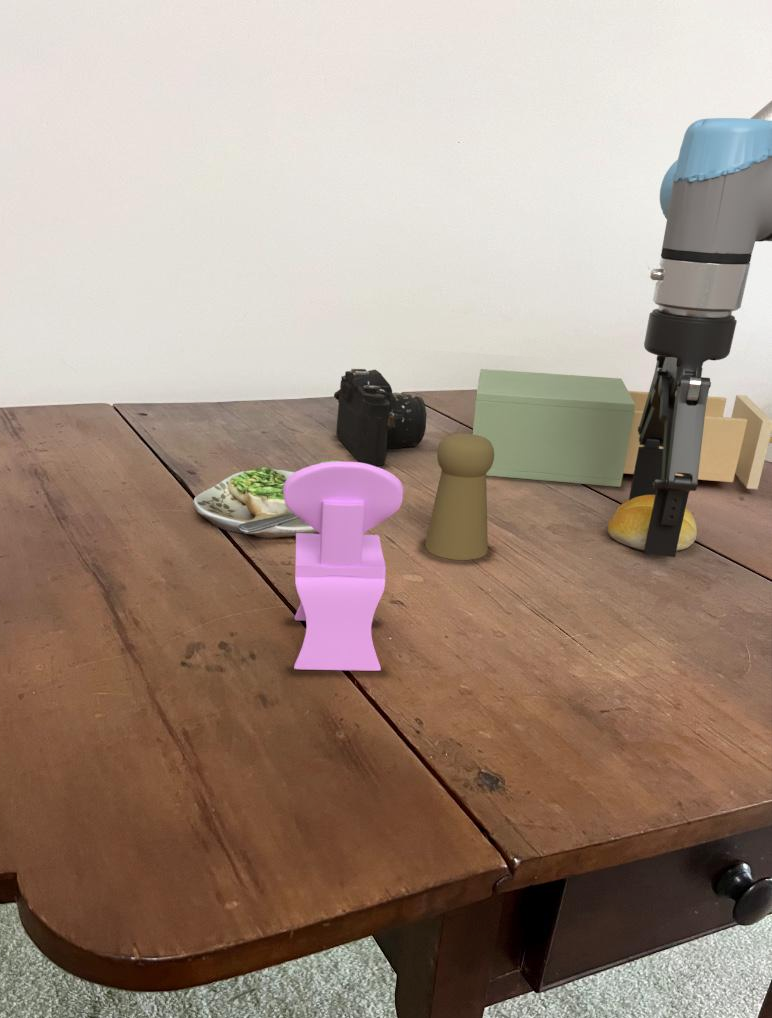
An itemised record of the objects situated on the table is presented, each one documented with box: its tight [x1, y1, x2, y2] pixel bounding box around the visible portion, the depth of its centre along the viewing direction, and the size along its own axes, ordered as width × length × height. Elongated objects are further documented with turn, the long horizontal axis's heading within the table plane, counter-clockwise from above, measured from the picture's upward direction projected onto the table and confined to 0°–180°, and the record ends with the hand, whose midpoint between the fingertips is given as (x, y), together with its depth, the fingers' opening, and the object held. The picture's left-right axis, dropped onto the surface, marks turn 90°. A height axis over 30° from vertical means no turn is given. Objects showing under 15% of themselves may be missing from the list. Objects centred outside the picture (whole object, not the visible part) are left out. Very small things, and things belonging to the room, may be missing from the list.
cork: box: [424, 433, 494, 561], centre depth 86 cm, size 6×6×11 cm
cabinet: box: [471, 368, 635, 488], centre depth 114 cm, size 18×15×10 cm
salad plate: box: [193, 459, 346, 539], centre depth 94 cm, size 19×18×5 cm
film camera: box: [333, 368, 428, 467], centre depth 118 cm, size 18×12×10 cm
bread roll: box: [607, 495, 698, 552], centre depth 92 cm, size 8×9×4 cm
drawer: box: [623, 390, 772, 490], centre depth 111 cm, size 22×14×8 cm, turn 79°
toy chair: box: [283, 461, 404, 672], centre depth 67 cm, size 8×9×15 cm
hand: (649, 530), depth 92 cm, fingers open, 13 cm apart
